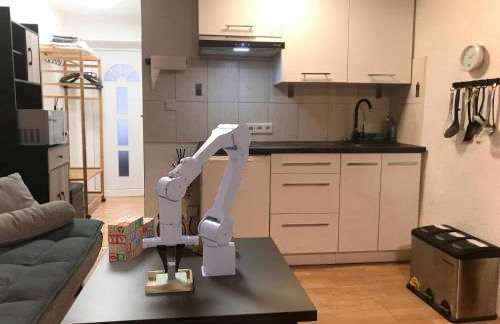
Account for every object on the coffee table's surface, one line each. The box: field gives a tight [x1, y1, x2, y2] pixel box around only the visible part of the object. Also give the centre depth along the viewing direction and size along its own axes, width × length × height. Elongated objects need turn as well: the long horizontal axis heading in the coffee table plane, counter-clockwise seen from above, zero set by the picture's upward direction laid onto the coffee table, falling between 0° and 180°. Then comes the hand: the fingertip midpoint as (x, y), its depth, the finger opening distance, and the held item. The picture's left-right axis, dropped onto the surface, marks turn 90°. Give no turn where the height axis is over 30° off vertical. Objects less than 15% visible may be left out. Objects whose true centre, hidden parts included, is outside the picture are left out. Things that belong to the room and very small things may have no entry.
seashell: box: [191, 233, 235, 256], centre depth 137 cm, size 11×14×10 cm
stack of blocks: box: [107, 214, 156, 263], centre depth 135 cm, size 21×6×12 cm, turn 169°
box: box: [144, 268, 194, 294], centre depth 108 cm, size 12×10×2 cm
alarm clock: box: [155, 209, 190, 237], centre depth 141 cm, size 11×5×15 cm, turn 77°
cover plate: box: [156, 261, 187, 285], centre depth 108 cm, size 8×7×5 cm
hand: (171, 271), depth 108 cm, fingers closed on cover plate
